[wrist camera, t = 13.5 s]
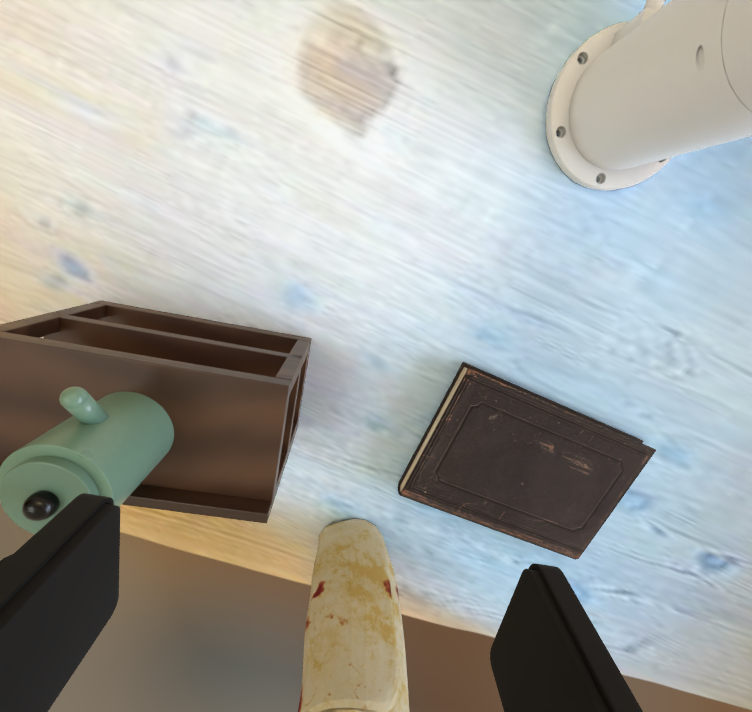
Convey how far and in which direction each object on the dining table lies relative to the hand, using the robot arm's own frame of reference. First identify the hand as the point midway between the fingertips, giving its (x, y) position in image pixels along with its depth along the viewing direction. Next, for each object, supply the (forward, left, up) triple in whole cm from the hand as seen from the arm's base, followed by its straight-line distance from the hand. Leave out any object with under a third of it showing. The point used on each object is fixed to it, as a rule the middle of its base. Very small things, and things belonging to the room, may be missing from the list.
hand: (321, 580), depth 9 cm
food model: (+26, +6, -31) cm, 40 cm away
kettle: (+6, -13, -17) cm, 23 cm away
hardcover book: (+13, +22, -31) cm, 40 cm away
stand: (+8, -13, -31) cm, 34 cm away
